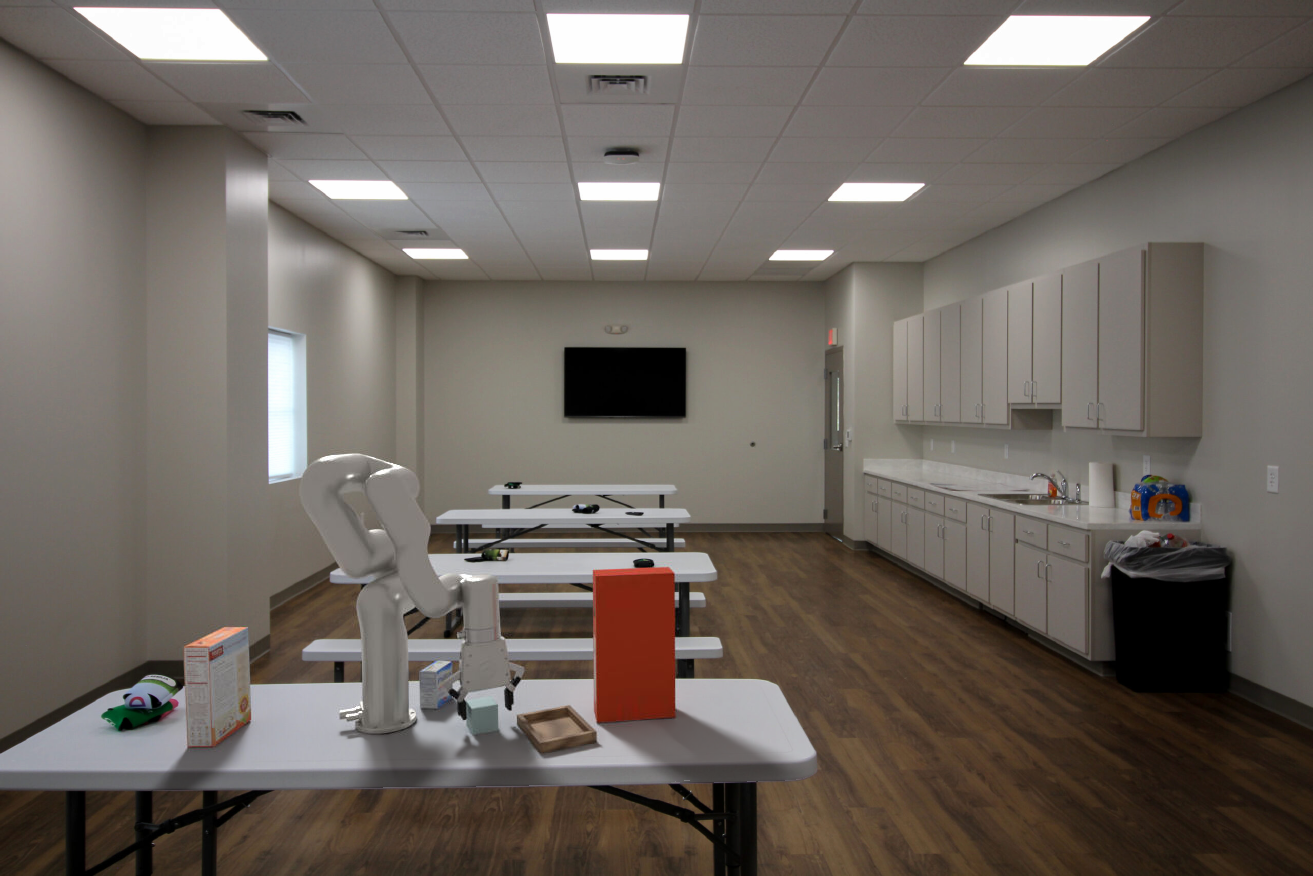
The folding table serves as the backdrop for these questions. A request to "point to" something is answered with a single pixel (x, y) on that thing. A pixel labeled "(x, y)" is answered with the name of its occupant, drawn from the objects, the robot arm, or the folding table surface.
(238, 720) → the cracker box
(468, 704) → the teal cube
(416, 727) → the folding table surface
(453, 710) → the folding table surface
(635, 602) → the tall orange-red block
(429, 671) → the medicine box
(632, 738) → the folding table surface
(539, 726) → the walnut tray
